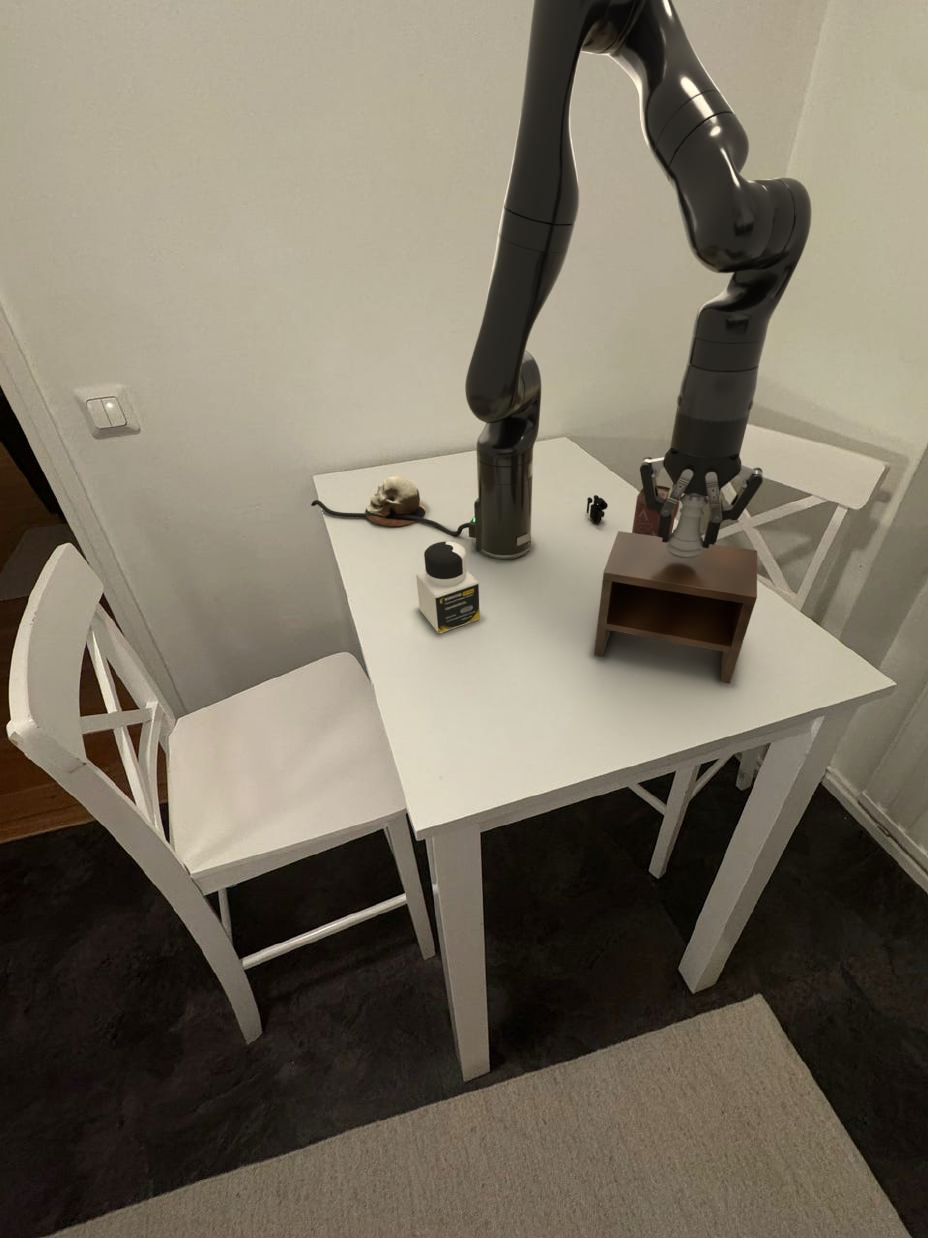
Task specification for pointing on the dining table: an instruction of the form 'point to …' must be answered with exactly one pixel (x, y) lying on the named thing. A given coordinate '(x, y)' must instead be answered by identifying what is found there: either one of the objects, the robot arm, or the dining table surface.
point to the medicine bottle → (447, 587)
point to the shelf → (678, 595)
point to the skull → (395, 502)
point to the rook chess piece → (688, 528)
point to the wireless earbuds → (596, 509)
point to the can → (650, 515)
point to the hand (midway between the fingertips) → (685, 541)
